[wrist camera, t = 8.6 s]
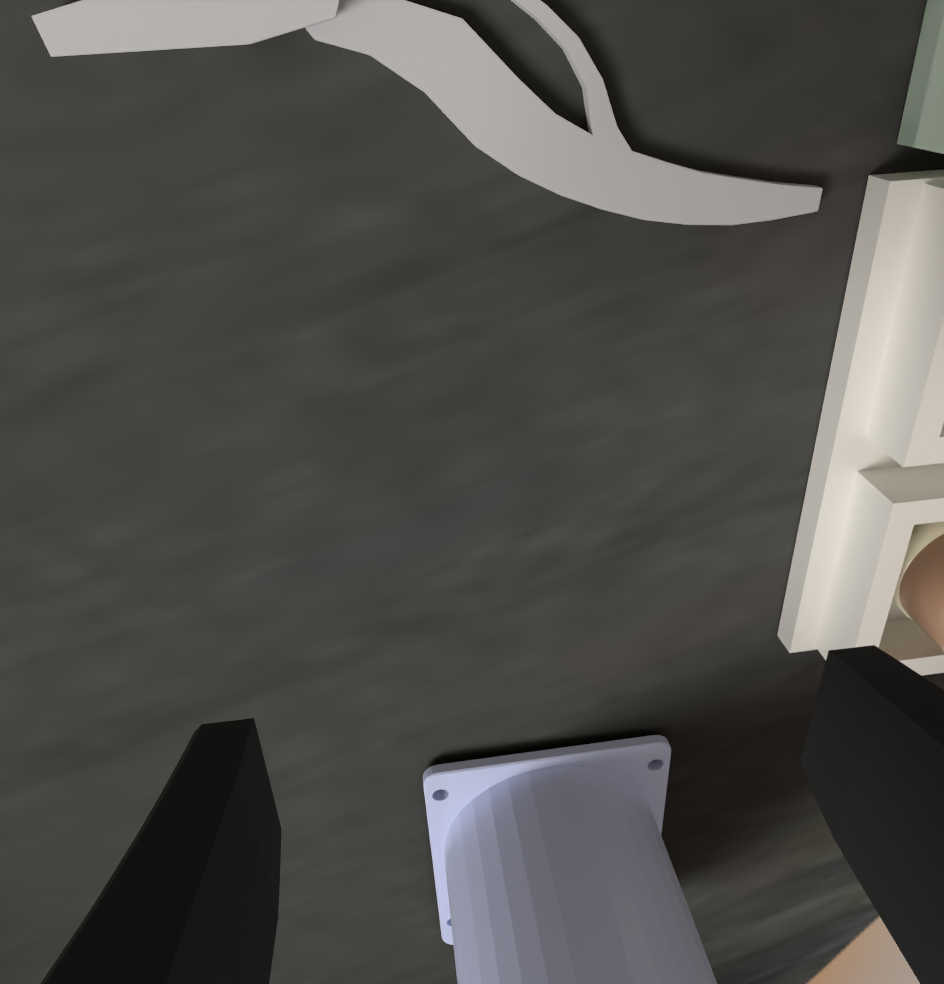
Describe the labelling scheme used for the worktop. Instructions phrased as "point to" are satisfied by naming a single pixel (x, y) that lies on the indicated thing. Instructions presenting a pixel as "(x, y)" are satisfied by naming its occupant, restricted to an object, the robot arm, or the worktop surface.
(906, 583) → the fuse
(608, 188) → the pliers
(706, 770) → the worktop surface
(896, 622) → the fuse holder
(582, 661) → the worktop surface
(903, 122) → the tray
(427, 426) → the worktop surface
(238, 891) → the robot arm
